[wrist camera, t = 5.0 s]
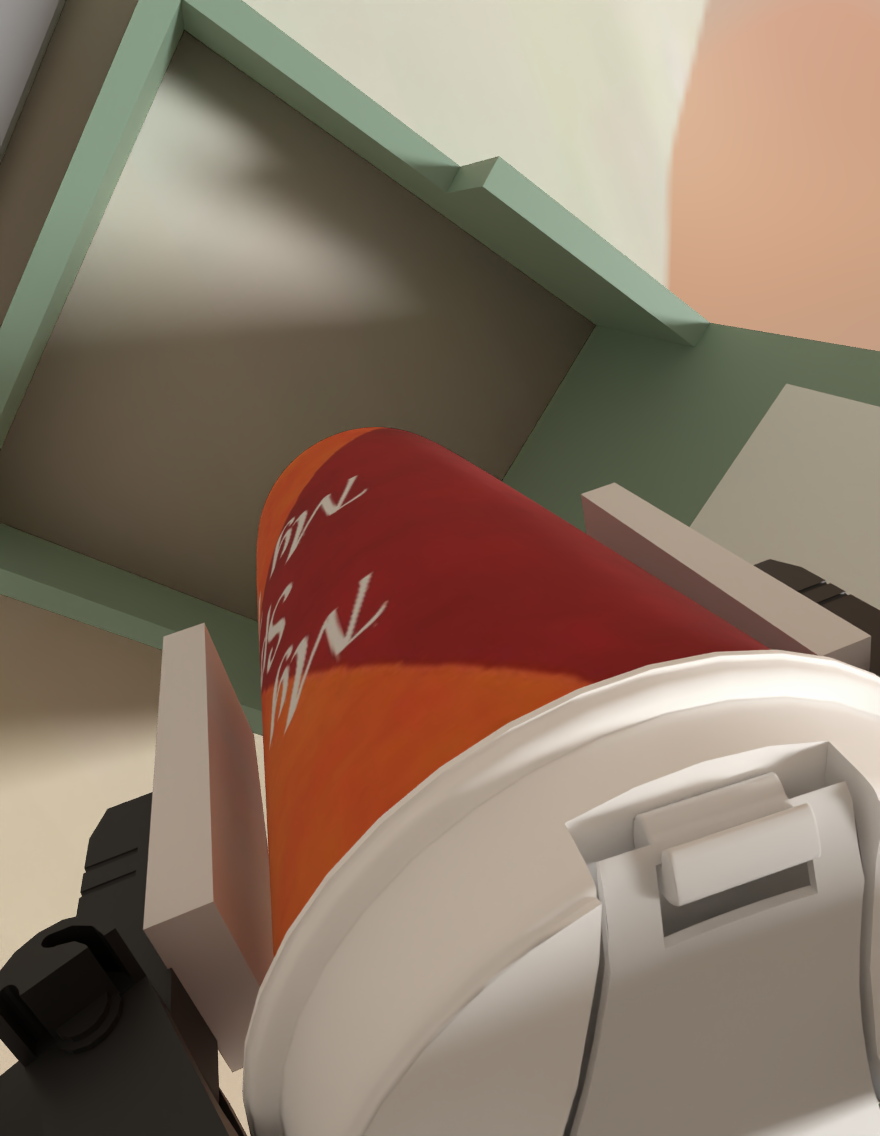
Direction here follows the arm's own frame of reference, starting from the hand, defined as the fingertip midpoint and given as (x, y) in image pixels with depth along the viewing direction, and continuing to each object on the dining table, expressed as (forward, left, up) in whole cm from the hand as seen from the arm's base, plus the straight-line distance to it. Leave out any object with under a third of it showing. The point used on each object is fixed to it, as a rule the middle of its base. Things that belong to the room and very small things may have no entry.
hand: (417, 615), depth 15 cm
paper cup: (0, 0, -4) cm, 4 cm away
